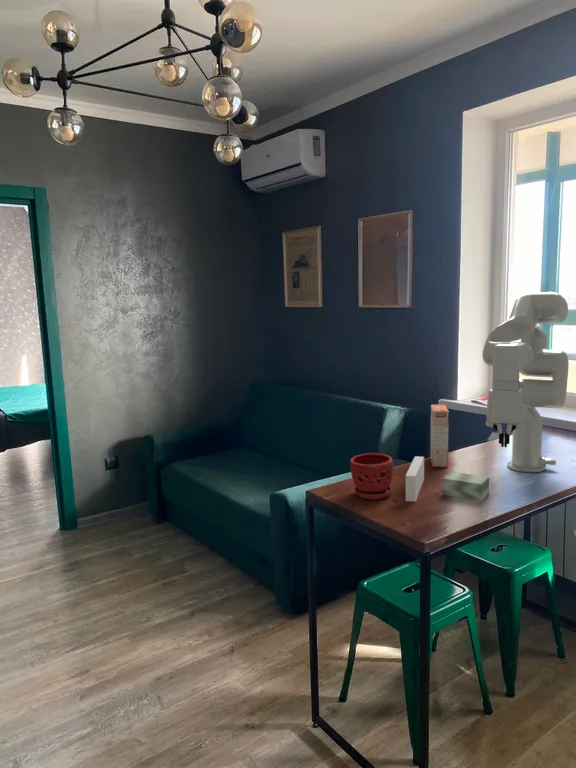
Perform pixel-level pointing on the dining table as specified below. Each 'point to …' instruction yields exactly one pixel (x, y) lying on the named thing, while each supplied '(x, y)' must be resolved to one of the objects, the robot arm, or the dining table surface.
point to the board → (414, 478)
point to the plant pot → (372, 475)
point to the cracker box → (439, 435)
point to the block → (466, 486)
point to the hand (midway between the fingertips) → (503, 446)
